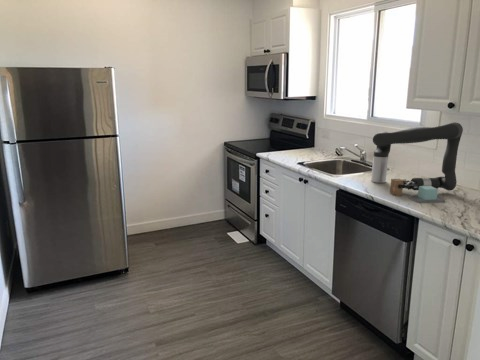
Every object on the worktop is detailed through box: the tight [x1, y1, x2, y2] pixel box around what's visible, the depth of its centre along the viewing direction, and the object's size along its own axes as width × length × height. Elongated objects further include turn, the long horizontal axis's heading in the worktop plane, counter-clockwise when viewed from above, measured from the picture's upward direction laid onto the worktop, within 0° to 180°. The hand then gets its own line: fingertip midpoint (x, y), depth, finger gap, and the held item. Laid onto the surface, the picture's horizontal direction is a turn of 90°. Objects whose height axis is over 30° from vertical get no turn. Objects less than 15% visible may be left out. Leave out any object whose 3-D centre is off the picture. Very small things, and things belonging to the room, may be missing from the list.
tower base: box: [408, 186, 446, 204], centre depth 219 cm, size 9×16×7 cm, turn 96°
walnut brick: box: [389, 178, 404, 197], centre depth 229 cm, size 5×5×9 cm
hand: (394, 184), depth 229 cm, fingers open, 8 cm apart
